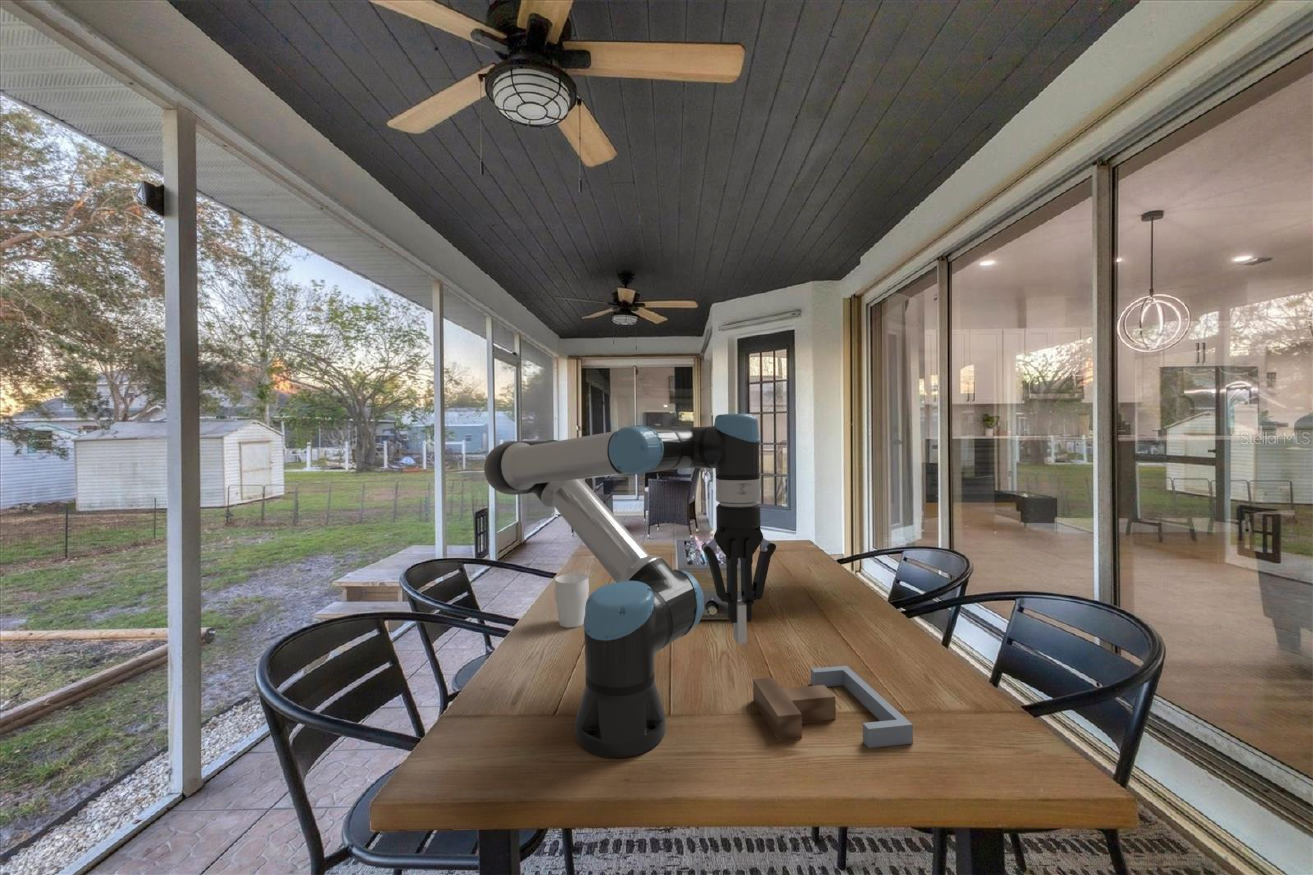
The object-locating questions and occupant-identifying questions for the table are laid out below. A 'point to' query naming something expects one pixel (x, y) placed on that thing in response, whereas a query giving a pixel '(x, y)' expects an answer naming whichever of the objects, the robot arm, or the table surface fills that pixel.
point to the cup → (571, 599)
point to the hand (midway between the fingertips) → (740, 640)
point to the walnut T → (792, 706)
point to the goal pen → (868, 707)
